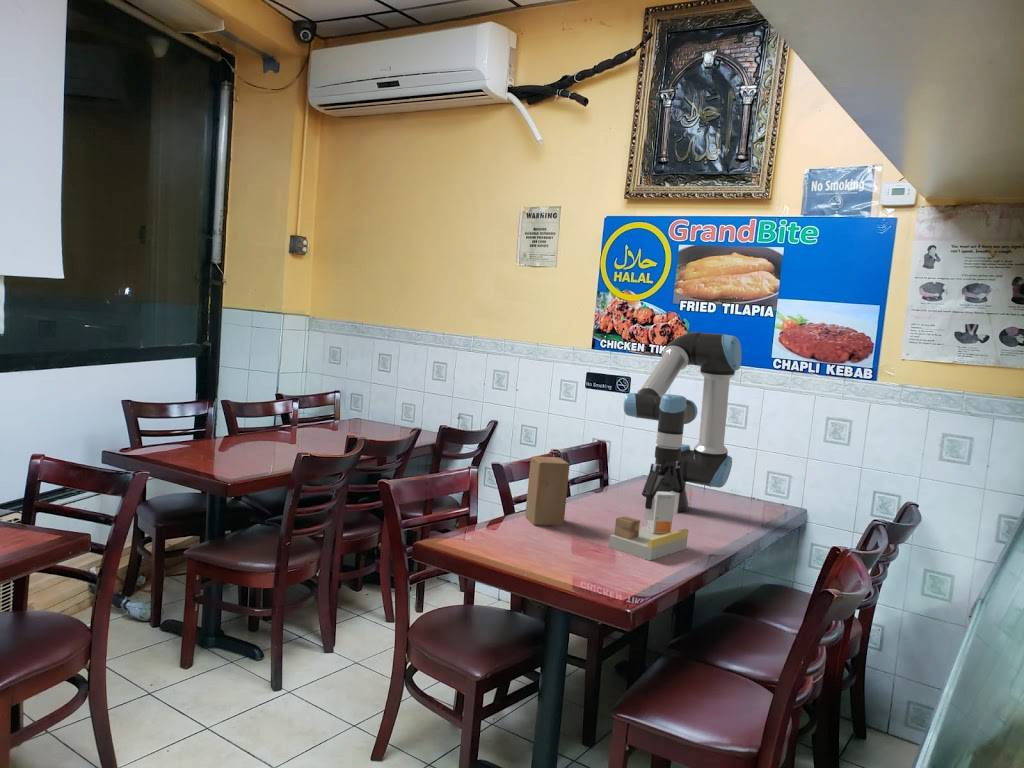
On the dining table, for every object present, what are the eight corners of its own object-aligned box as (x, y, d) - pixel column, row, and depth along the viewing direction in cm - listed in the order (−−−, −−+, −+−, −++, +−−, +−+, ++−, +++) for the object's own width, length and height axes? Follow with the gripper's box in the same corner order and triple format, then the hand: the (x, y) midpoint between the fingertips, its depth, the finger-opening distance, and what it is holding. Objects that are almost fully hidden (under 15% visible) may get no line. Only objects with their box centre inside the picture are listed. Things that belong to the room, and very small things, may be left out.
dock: (646, 536, 234) (648, 518, 234) (686, 549, 225) (688, 529, 224) (608, 547, 219) (610, 527, 219) (649, 560, 210) (652, 540, 210)
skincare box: (653, 533, 225) (657, 494, 224) (646, 529, 229) (651, 490, 228) (671, 534, 227) (675, 495, 226) (664, 530, 231) (669, 491, 230)
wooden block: (533, 525, 235) (539, 462, 233) (524, 516, 245) (530, 455, 243) (564, 526, 238) (570, 463, 236) (553, 517, 247) (559, 457, 246)
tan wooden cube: (624, 532, 224) (625, 515, 223) (638, 536, 220) (640, 520, 220) (614, 535, 220) (616, 518, 219) (628, 539, 217) (630, 522, 216)
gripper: (678, 441, 237) (671, 507, 239) (634, 447, 219) (627, 518, 221) (700, 445, 232) (692, 513, 234) (657, 452, 214) (649, 525, 216)
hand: (661, 516), depth 227 cm, fingers open, 13 cm apart
